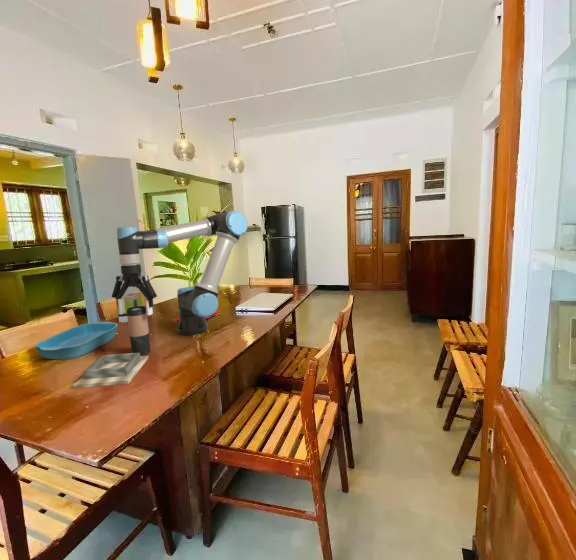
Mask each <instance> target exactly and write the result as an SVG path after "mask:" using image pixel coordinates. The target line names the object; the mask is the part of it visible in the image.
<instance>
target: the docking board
mask: <svg viewBox="0 0 576 560" xmlns="http://www.w3.org/2000/svg"><path fill="white" fill-rule="evenodd" d="M148 360H149V355H142V356H140V353H132V352H131V353H129V352H128V353H118V354H117V353H116V354H106V355H105V354H104V355H101V356H100V357H99V358H97V359H96V360H95V361H94V362H93V363H91V364H90V365H89V366H88V367H87V368H85V370H83V371H82V372H83V373H82V374H83V376H81V378H80V379H78V381H76V382H75V383H74V384H73V389H79V388H80V389H81V388H83V389H85V388H93V387H105V386H116V385H117V386H118V385H127V384H130V382H132V380H133V379H134V378H135V376H136V375H137V373H138V372H139V371H140V370H141V369H142V367H143V366H144V365H145V364H146V362H147V361H148Z"/></svg>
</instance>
